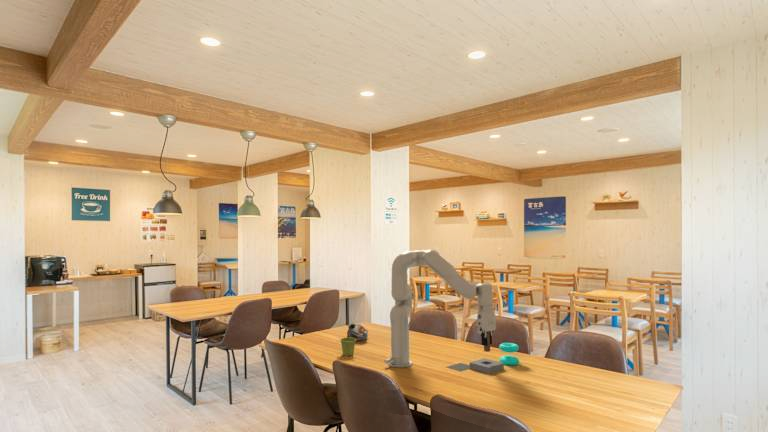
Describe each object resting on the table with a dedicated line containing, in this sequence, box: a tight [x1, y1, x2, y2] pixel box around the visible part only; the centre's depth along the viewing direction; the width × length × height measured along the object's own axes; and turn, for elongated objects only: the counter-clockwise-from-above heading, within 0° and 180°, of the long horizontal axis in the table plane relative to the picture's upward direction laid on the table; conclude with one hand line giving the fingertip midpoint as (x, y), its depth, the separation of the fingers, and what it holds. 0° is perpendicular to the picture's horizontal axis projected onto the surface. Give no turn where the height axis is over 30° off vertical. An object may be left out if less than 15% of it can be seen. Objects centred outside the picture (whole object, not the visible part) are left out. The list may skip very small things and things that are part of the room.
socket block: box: [469, 358, 505, 375], centre depth 222 cm, size 12×12×4 cm
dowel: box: [483, 331, 491, 353], centre depth 222 cm, size 3×3×11 cm
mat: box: [445, 362, 471, 373], centre depth 226 cm, size 12×10×1 cm
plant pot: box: [339, 337, 356, 357], centre depth 254 cm, size 9×9×9 cm
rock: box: [346, 322, 369, 341], centre depth 291 cm, size 15×12×14 cm
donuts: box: [498, 342, 520, 367], centre depth 233 cm, size 10×10×10 cm
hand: (486, 344), depth 222 cm, fingers closed on dowel, 3 cm apart
